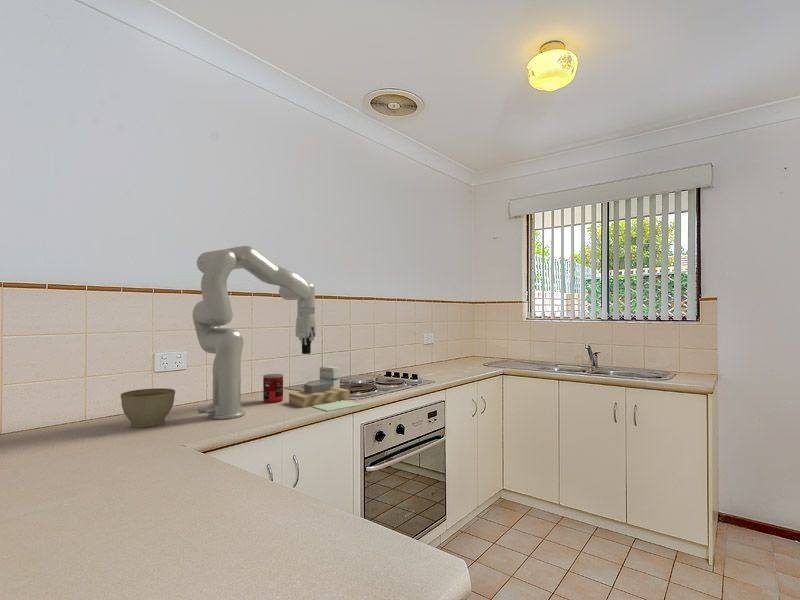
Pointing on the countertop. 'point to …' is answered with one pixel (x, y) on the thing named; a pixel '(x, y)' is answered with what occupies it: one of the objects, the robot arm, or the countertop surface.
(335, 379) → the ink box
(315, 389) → the gray rectangular block
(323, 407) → the sage mat
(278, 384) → the canned food
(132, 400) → the planter bowl
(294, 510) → the countertop surface
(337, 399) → the oak block
